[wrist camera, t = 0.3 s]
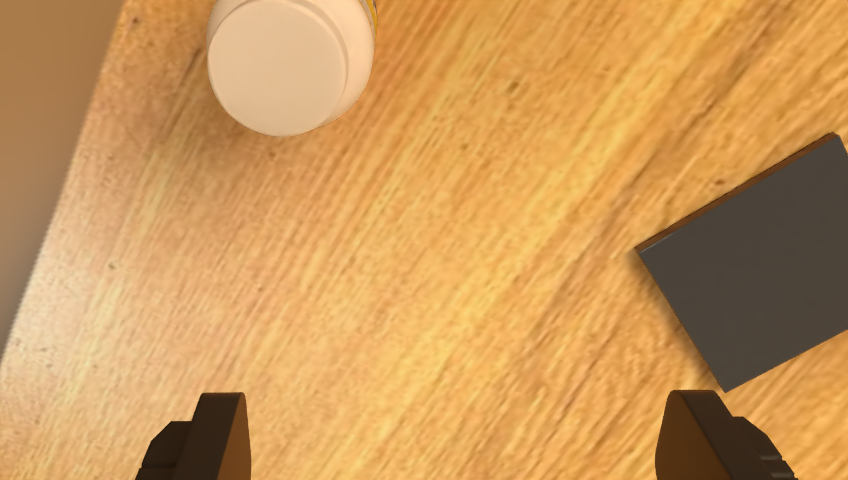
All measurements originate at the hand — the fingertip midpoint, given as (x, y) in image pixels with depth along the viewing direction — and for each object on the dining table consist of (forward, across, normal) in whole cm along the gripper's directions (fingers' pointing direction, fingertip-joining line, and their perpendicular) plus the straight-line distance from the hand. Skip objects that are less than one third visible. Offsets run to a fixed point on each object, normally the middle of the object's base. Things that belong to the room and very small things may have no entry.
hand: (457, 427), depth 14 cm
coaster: (+19, -18, +7) cm, 27 cm away
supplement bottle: (+20, +4, -4) cm, 21 cm away
